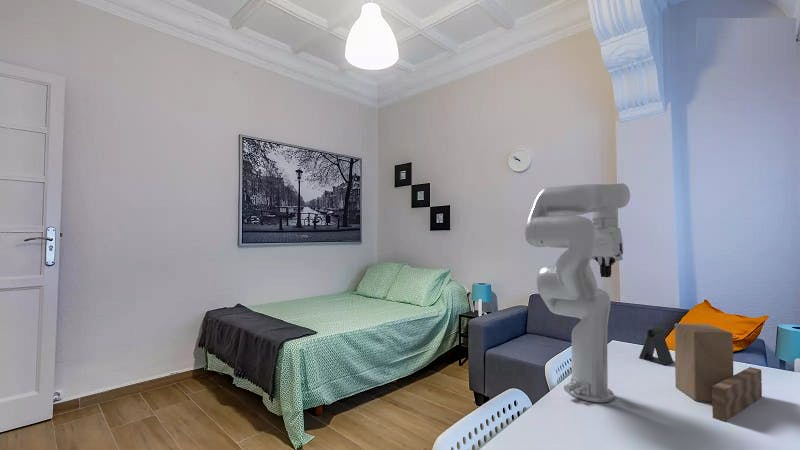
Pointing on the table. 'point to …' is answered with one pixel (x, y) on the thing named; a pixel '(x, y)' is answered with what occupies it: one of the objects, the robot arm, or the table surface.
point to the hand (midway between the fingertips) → (605, 276)
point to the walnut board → (736, 393)
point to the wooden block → (702, 359)
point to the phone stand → (656, 342)
